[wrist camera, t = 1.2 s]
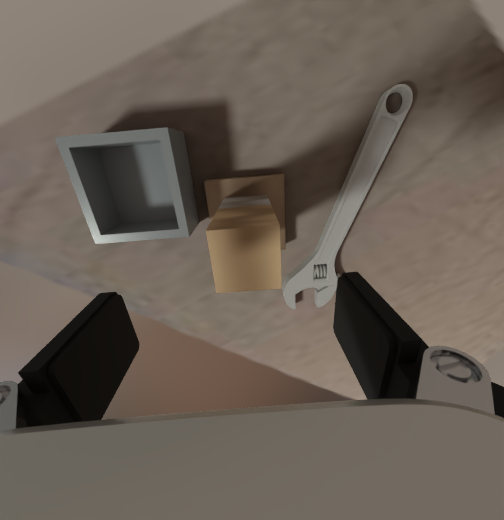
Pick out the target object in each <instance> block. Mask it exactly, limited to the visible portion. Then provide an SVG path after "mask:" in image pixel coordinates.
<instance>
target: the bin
mask: <svg viewBox="0 0 504 520" xmlns="http://www.w3.org/2000/svg"><path fill="white" fill-rule="evenodd" d="M55 140H56V142H57V145H58V148H59V150H60V153H61V155H62V158H63V161H64V163H65V166H66V168H67V171H68V174H69V176H70V179H71V182H72V184H73V187H74V189H75V192H76V195H77V197H78V200H79V202H80V205H81V208H82V210H83V213H84V215H85V218H86V221H87V223H88V226H89V228H90V231H91V234H92V236H93V239H94V241H95V244H101V243H113V242H126V241H139V240H152V239H165V238H178V237H189V236H190V235H191V234H192V232H193V231H194V229H195V228H196V227H197V225H198V224H199V222H200V221H199V216H198V210H197V204H196V199H195V193H194V187H193V182H192V176H191V170H190V165H189V159H188V153H187V148H186V142H185V136H184V132H181V131H178V130H175V129H171V128H168V127H165V128H154V129H142V130H131V131H120V132H108V133H97V134H86V135H75V136H63V137H55Z"/></svg>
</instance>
